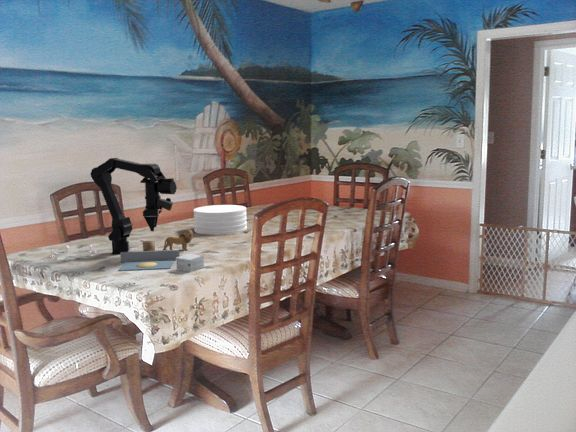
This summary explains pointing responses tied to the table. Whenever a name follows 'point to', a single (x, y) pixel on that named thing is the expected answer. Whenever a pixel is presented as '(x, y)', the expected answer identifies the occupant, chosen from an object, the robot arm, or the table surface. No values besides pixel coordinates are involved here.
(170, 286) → the table surface
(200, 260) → the small box
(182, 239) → the lion figurine
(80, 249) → the game piece set
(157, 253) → the low wall
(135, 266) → the mat
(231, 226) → the plate stack
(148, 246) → the brown rounded cylinder
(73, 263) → the table surface
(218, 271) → the table surface
